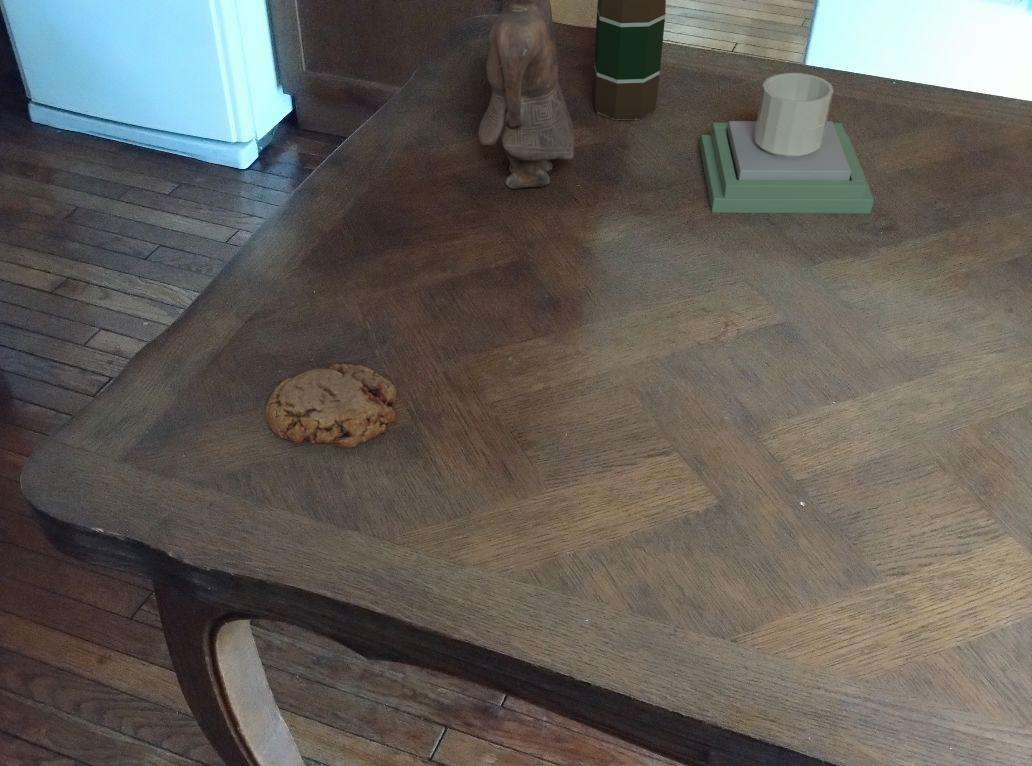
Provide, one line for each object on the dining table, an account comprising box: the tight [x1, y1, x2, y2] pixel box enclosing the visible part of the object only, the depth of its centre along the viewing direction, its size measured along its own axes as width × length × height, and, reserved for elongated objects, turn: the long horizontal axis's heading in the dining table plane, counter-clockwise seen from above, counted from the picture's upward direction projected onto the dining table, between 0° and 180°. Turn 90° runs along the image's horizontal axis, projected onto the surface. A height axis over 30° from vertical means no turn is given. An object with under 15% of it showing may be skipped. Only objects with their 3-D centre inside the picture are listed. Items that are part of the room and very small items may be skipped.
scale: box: [699, 122, 875, 215], centre depth 112 cm, size 16×14×3 cm
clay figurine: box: [477, 0, 575, 190], centre depth 105 cm, size 13×10×25 cm
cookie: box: [265, 363, 397, 448], centre depth 86 cm, size 10×11×3 cm
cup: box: [754, 72, 834, 158], centre depth 108 cm, size 7×7×6 cm
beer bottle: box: [592, 0, 667, 122], centre depth 116 cm, size 8×8×24 cm
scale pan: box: [727, 120, 851, 181], centre depth 110 cm, size 11×11×1 cm
